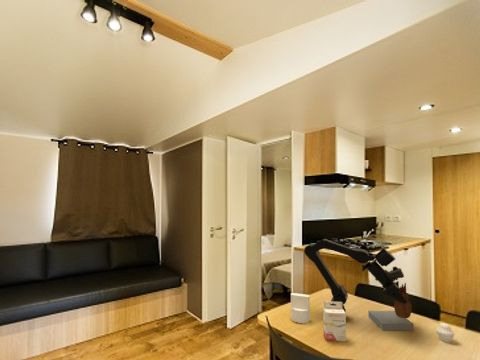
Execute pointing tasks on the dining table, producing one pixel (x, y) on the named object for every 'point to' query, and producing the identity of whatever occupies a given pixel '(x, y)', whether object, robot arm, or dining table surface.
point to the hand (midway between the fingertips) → (405, 300)
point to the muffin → (445, 332)
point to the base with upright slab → (300, 308)
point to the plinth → (390, 320)
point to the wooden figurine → (403, 304)
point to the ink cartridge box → (334, 321)
